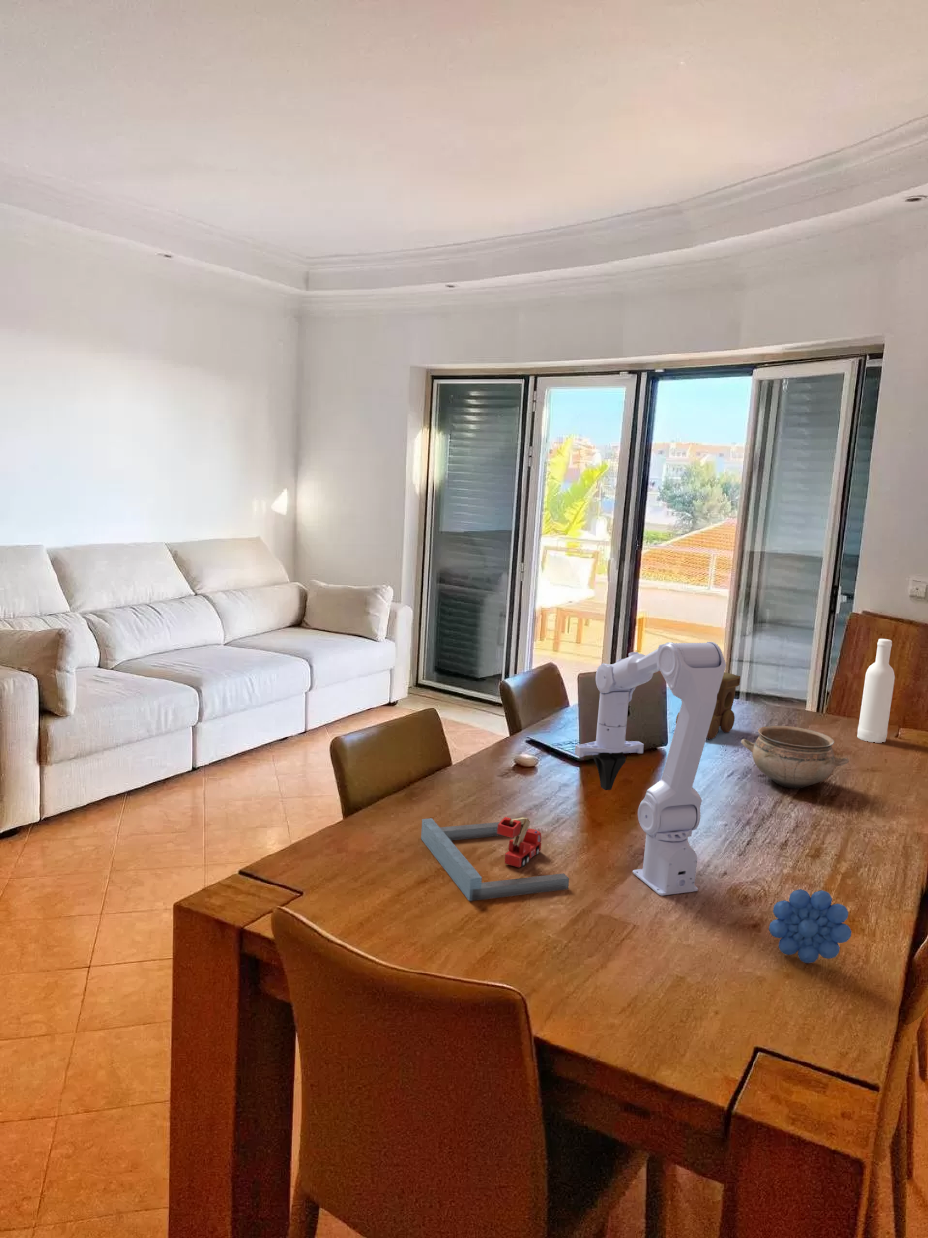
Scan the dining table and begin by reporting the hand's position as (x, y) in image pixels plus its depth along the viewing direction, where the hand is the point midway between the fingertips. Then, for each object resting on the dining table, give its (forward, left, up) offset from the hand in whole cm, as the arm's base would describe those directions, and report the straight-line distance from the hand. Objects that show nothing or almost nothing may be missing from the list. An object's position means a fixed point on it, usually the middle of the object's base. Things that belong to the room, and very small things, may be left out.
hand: (605, 788), depth 180 cm
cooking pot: (+17, -62, -10) cm, 65 cm away
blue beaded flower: (-51, -7, -10) cm, 52 cm away
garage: (-8, +28, -9) cm, 30 cm away
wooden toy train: (+60, -68, -10) cm, 91 cm away
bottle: (+45, -116, -10) cm, 125 cm away
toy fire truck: (-9, +22, -10) cm, 26 cm away
